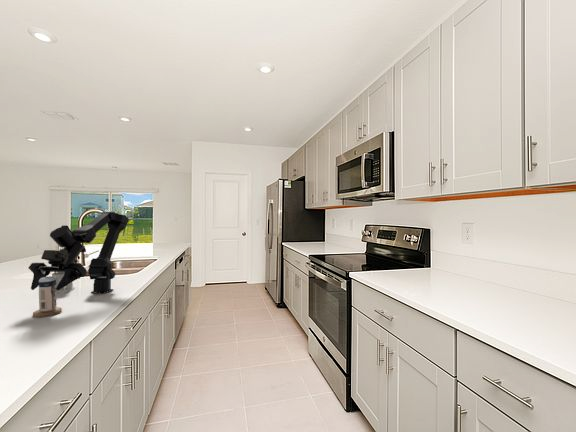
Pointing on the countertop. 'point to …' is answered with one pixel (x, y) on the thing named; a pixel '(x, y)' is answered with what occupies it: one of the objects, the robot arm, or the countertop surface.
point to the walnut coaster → (46, 314)
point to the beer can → (47, 294)
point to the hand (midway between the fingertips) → (44, 289)
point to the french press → (58, 278)
